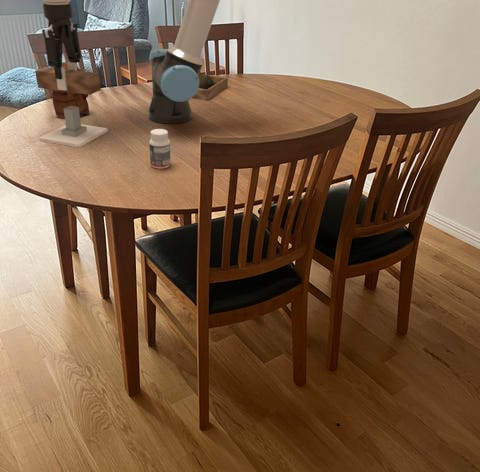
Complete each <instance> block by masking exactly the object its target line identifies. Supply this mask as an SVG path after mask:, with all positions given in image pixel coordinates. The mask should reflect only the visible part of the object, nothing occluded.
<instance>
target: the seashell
mask: <svg viewBox="0 0 480 472" xmlns="http://www.w3.org/2000/svg"><path fill="white" fill-rule="evenodd" d="M208 75H209V74H207V73H206V74H205V73H199V76H198V77H199V88H200V89H209V88H210V87H212V86H213V85H215V84H216V83H215V82H214V81H213V80H212V79H211V78H210V77H209V76H210V75H209V76H208Z"/></svg>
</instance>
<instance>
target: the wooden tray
mask: <svg viewBox="0 0 480 472" xmlns="http://www.w3.org/2000/svg"><path fill="white" fill-rule="evenodd" d="M207 75H208V76H209V77H210V78H211V79H212V80H213V81H214V82H215V83H216V84H215V85H213V86H212V87H210V88H209V89H200V88H198V91H197V93H196V94H195V95H194V96H193V97H192V98H191V99H194V100H195V99H196V100H200V101H202V100H203V101H207V102H208V101H210V100H212V99H213V98H214V97H216V96H217V95H218V94H220V93H221V92H223V91H225V90H226V89H227V88H228V80H229V78H228V77H224V76H216V75H209V74H207Z"/></svg>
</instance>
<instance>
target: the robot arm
mask: <svg viewBox="0 0 480 472" xmlns="http://www.w3.org/2000/svg"><path fill="white" fill-rule="evenodd" d="M42 2H44V3H43V5H42V8H43V15H44V18H45V19H47V20H48V25H47V26H48V27H47V28H46V29H44V28H43V29H42V30H41V33H42V35H43V38H44V45H45V51H46V52H45V54H46V59H47V67H51V68H54V70H55V77H56V79H57V86H58V90H67V84H66V77H65V70H64V67H62V63H63V47H64V49H65V53H66V56H67V59H68V61H66V62H67V65H68V70H77V71H78V68H79V67H78V63H80V62H81V58H82V54H81V49H80V48H81V47H80V42H79V41H80V40H79V35H78V28H79V27H78V24H77V23H72V21H71V19H72V18H73V9H72V4H71V3H70V2H71V0H42ZM220 2H221V0H188V1H187V6H186V9H185V12H184V14H183V18H182V19H181V24H180V27H179V30H178V32H177V36H176V39H175V41H174V45H172V46H171V47H169V48H164V49H163V48H159V49H154V50H152V51H150V52H151V53H150V62H151V82H152V85H151V86H152V98H151V102H150V105H149V109H148V118H149V120H151V121H153V122H156V123H160V124H168V125H169V124H181V123H185V122H188V121H190V120H191V119H192V118H193V112H192V107H191V105H190V102H189V100H191V99H193V98H192V97H193V96H194V95H195V94H196V93H197V91H198V88H199V77H198V76H199V73H200V72H201V69H202V67H203V61H202V59H201V56H202V53H203V51H204V50H203V49H204V47H205V43H206V41H207V38H208V35H209V32H210V30H211V28H212V24H213V21H214V18H215V16H216V13H217V9H218V6H219V4H220ZM77 67H78V68H77ZM200 74H201V73H200Z"/></svg>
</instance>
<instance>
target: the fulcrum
mask: <svg viewBox="0 0 480 472" xmlns="http://www.w3.org/2000/svg"><path fill="white" fill-rule="evenodd" d="M64 115H65V119H64V121H65V122H64V123H65V124H64V125H62V126H61V127H58V128H56V129H54V130H52V131H50V132H48V133H46V134H44V135H42V136H40V137H39V141H40V142H45V143H51V144H57V145H62V146H69V147H73V148H77V149H80V148H81V147H83V146H84V145H87V144H88V143H90V142H92V141H94V140H95V139H97V138H98V137H100V136H102V135H104V134H106V133H107V132H108V131H109V130H108V127H102V126H101V127H100V126H97V125H95V126H94V125H91V124H90V125H88V124H83V123H82V122H81V117H80V114H79V107H75V106H69V107H66V108H64Z"/></svg>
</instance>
